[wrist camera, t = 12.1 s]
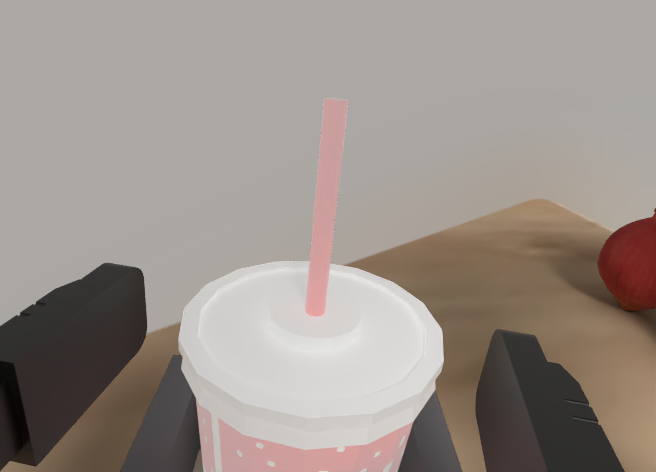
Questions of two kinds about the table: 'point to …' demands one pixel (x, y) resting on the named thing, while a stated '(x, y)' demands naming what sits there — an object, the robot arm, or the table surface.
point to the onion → (631, 264)
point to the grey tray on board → (185, 448)
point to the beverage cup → (309, 354)
